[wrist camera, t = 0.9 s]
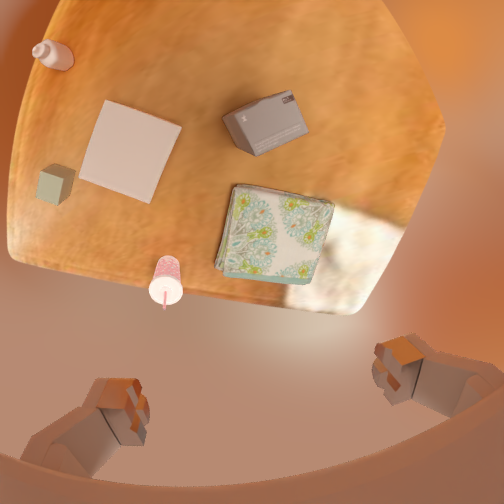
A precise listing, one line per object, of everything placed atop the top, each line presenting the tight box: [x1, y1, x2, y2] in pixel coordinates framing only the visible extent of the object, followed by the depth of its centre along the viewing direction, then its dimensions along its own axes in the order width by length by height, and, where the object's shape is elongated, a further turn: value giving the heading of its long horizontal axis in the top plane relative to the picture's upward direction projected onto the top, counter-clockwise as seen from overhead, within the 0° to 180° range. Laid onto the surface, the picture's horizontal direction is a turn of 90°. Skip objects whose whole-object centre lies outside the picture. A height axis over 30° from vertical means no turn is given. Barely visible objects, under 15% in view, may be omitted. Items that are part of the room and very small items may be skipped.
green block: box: [36, 164, 76, 206], centre depth 42 cm, size 5×5×6 cm
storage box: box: [78, 100, 182, 204], centre depth 43 cm, size 13×13×6 cm
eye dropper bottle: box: [32, 39, 74, 71], centre depth 29 cm, size 4×6×12 cm
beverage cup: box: [149, 256, 183, 310], centre depth 51 cm, size 6×6×14 cm
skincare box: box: [222, 90, 309, 157], centre depth 40 cm, size 8×7×16 cm
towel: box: [214, 184, 335, 285], centre depth 57 cm, size 18×21×5 cm
